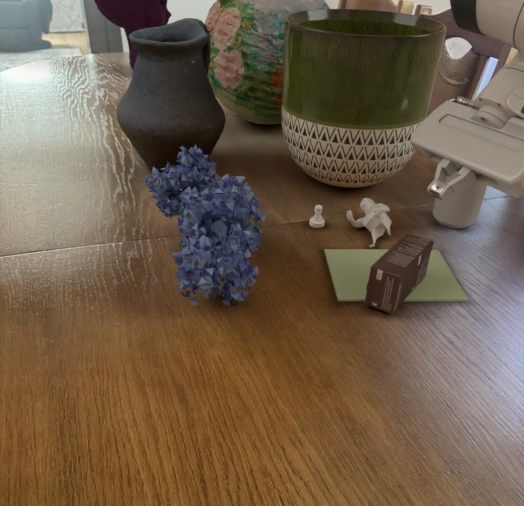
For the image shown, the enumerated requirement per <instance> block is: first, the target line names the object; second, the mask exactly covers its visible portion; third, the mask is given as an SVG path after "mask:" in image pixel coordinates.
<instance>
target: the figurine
mask: <svg viewBox="0 0 524 506" xmlns="http://www.w3.org/2000/svg"><path fill="white" fill-rule="evenodd" d="M359 207H360V209H361V210H362V211H363V213H364V217H360V218H358V219H357V220H355V218H354V216H353V215H354V214H353V212H352V210H351V209H350V210H347V211H346V214H345V215H346V216H345V217H346V219H347V220H348V221H349V222H350V224H351V225H352V226H353V228H355V229H356V228H357V229H361V228H366V230H367V231H369V232H370V234H371V238H372V244H369V245H368V247H369V248H368V249H373V248H375V246H376V241H377V240H378V239H379V237H382V236H383V235H384V234H385V232H386V233H387V234H388V236H391V235H392V234H391V226H392V223H393V221H392V219H391V218H390V217H389V215H388V214H387V213H389V212H390V211H391V210H390V209H391V208H390V207H389V205H386V204H384V203H382V202H379V203H376V202H375V201H374V200H373V199H372V198H369V197H364V198H362V199H361V201H360V203H359Z"/></svg>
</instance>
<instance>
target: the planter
mask: <svg viewBox="0 0 524 506" xmlns="http://www.w3.org/2000/svg"><path fill="white" fill-rule="evenodd" d="M447 29H448V28H447V26H446V24H444V23H443V22H441V21H438V20H436V19H432V18H429V17H425V16H420V15H415V14H410V13H403V12H395V11H388V10H377V9H361V8H360V9H358V8H330V9H317V10H306V11H299V12H294V13H291V14H289V15H287V16H286V17H285V23H284V41H283V75H282V108H281V121H282V123H281V130H282V136H283V140H284V144H285V147H286V150H287V152H288V155H290V157H291V159H292V160H293V161H294V163H296V165H297V166H298V167H299V168H300V169H301V170H302V171H303V172H304V173H305V174H306V175H308V176H309V177H310V178H313V179H314V180H316V181H317V182H320V183H323V184H326V185H329V186H333V187H338V188H349V189H351V188H352V189H355V188H356V189H357V188H365V187H370V186H374V185H376V184H379V183H381V182H383V181H386V180H388V179H389V178H391V177H393V176H394V175H396V174H397V173H398V172H400V171H401V170H402V169H403V168H405V166H407V164H408V163H409V162H410V161H411V159H412V157H414V155H415V152H416V151H415V149H414V148H413V146H412V145H411V143H410V138H411V134H412V133H413V131H414V130H415V129H416V128H417V127H418V126H419V125H420V124H421V123H422V122H423V121H424V120H425V119H426V118H427V117H428V115H429V110H430V106H431V103H432V99H433V93H434V88H435V84H436V80H437V75H438V70H439V66H440V61H441V58H442V53H443V50H444V44H445V40H446V33H447Z"/></svg>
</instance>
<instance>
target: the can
mask: <svg viewBox="0 0 524 506" xmlns="http://www.w3.org/2000/svg"><path fill="white" fill-rule="evenodd" d="M458 176H459V175H458V172H455V173H454V174H453V175H452V176H451V177H449V176H447V179H446V182H445V183H446V184H447V183H449V182H450V181H452V180H453V179H455V178H457V177H458ZM487 189H488V185H486V184H484V183H481V182H479V181H477V180H475V182H474V183H473V184H472V185H471V186H470V187H468V188H466V189H464V190H462V191H460V192H458V193H455V194H454V195H453V196H452V197H451V198H450V200H449V201H448V202H443V201H442V200H440V199H438V198H435V199H434V205H433V208H432V216H433V217H434V218H435V220H436V221H437V223H439V224H440V225H441V226H444V227H448V228H452V229H465V228H469V227H470V226H472V225H474V224H476V223H477V221H478V219H479V215H480V212H481V208H482V205H483V201H484V198H485V194H486V191H487Z"/></svg>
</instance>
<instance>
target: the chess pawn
mask: <svg viewBox="0 0 524 506" xmlns="http://www.w3.org/2000/svg"><path fill="white" fill-rule="evenodd" d="M314 212H315V213H314V215H313V216H312V217H310V218H309V223H308V225H309V226H310V227H312V228H313V229H321V228H324V227H325V224H326V221H325V218H323V216H322V212H323V205H321V204H316V205H314Z"/></svg>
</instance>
